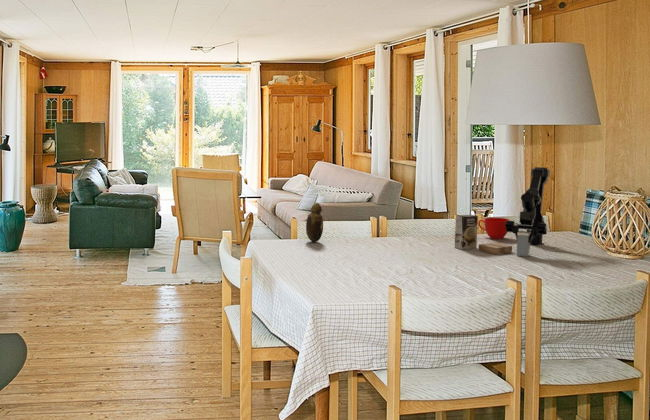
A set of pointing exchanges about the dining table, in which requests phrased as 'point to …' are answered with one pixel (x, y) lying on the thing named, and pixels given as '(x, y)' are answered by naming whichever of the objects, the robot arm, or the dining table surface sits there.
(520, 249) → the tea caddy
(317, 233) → the sculpture
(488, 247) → the tan wooden flat block
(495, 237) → the ceramic cup
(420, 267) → the dining table surface
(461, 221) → the coffee box
